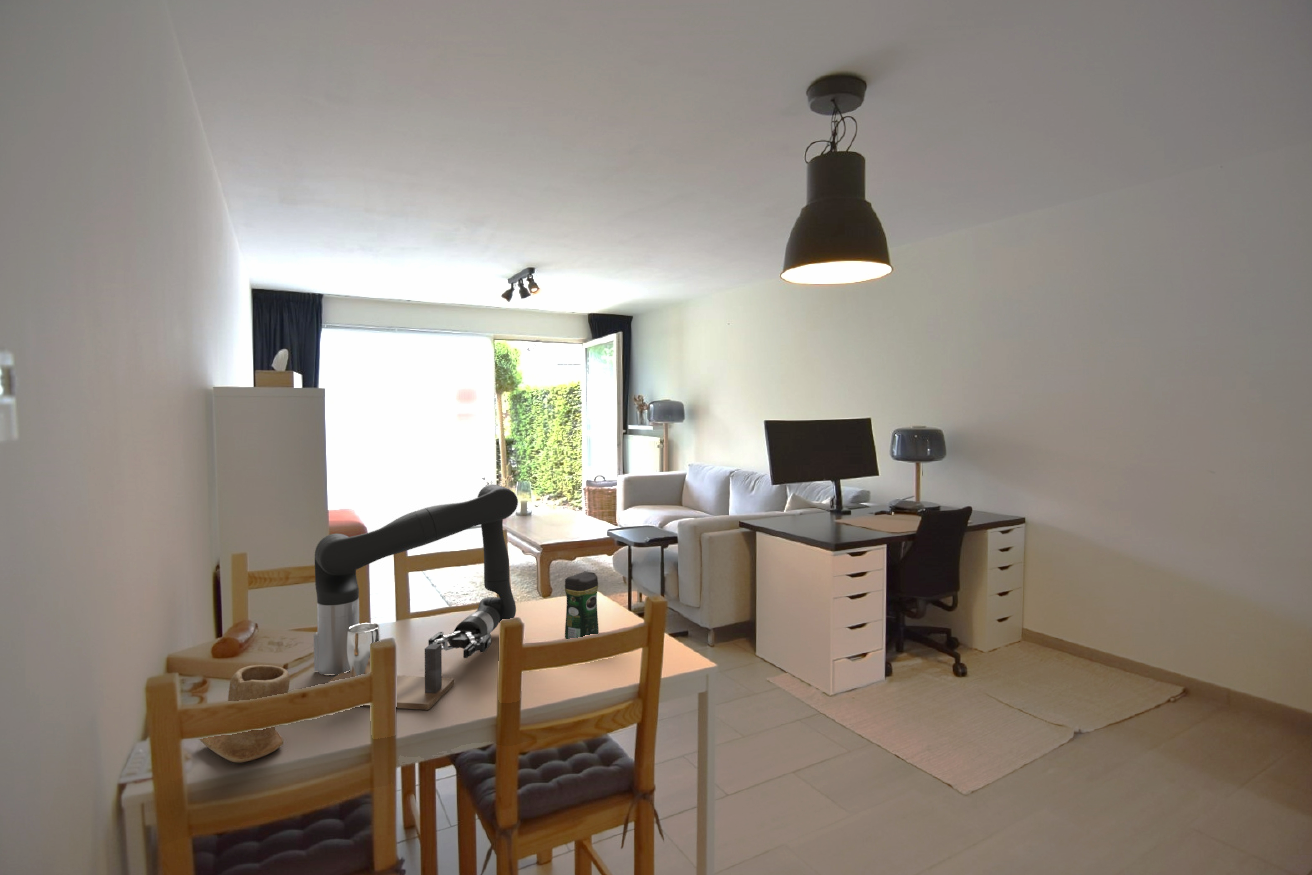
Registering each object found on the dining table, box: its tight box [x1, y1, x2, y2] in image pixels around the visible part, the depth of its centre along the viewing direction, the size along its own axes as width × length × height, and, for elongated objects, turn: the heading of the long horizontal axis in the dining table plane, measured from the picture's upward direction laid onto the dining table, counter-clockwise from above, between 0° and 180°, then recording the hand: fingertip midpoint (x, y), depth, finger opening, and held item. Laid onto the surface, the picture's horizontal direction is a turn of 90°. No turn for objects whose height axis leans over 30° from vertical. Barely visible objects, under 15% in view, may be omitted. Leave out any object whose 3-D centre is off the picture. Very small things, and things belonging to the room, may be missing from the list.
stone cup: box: [198, 664, 291, 764], centre depth 119 cm, size 15×12×15 cm
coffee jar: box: [564, 570, 600, 640], centre depth 178 cm, size 10×8×19 cm
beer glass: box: [347, 622, 381, 677], centre depth 142 cm, size 7×7×15 cm
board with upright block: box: [327, 644, 455, 711], centre depth 142 cm, size 28×13×11 cm, turn 84°
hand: (447, 653), depth 148 cm, fingers open, 8 cm apart
